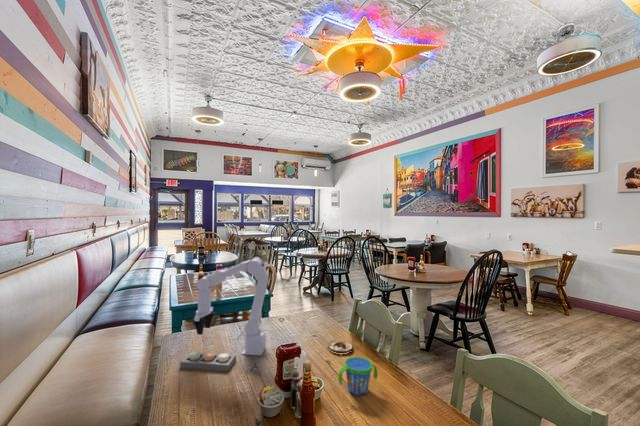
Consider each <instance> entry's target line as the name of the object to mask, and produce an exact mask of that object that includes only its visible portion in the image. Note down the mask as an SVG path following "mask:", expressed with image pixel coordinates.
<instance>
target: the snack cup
mask: <svg viewBox="0 0 640 426" xmlns="http://www.w3.org/2000/svg"><path fill="white" fill-rule="evenodd" d="M373 368H374V369H373ZM344 372H346V373H345V374H346V383H347V390H348V392H350V393H352V394H353V395H356V396H362V395H364V394H367V392H368V390H369V385H370V379H371V373H372V372H373V374H372V377H373V378H374V379H375V380H377V379H378V369H377V366H376V365H375V364H374V362H372V361H370V360H369V359H367V358H364V357H362V356H361V357H360V356H351V357H348V358H347V359H345V361H344V364H343V365H342V367H340V370H339V372H338V377H337V378H338V383H339V384H340V385H341V386H343V384H342V383H343V381H342V380H343V373H344Z"/></svg>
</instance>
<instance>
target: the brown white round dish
mask: <svg viewBox="0 0 640 426" xmlns="http://www.w3.org/2000/svg"><path fill="white" fill-rule="evenodd" d="M345 343H346V344H347V345H348V346H347V345H345ZM331 345H333V346H331ZM349 346H350V348H349V350H347V349H346V348H348V347H349ZM328 348H329V349H330V350H331V351H333V352H336V353H347V352H350V351H352V352H353V351H354V350H353V349H354V346H353V344H352V343H351V342H350V341H349V340H333V341H332V340H331V341H330V342H329V343H328V346H327V349H328ZM329 349H328V350H329ZM345 349H346V350H345Z"/></svg>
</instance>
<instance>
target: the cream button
mask: <svg viewBox="0 0 640 426" xmlns="http://www.w3.org/2000/svg"><path fill="white" fill-rule="evenodd" d="M219 354H220V355H219V356H218V362H223V363H227V362H228V361H229V353H219Z"/></svg>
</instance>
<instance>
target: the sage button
mask: <svg viewBox="0 0 640 426" xmlns="http://www.w3.org/2000/svg"><path fill="white" fill-rule="evenodd" d="M191 352H192V353H191ZM191 352H190V353H188V355H189V360H193V361H198V360H199V359H200V353H201V352H200V351H191Z"/></svg>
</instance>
